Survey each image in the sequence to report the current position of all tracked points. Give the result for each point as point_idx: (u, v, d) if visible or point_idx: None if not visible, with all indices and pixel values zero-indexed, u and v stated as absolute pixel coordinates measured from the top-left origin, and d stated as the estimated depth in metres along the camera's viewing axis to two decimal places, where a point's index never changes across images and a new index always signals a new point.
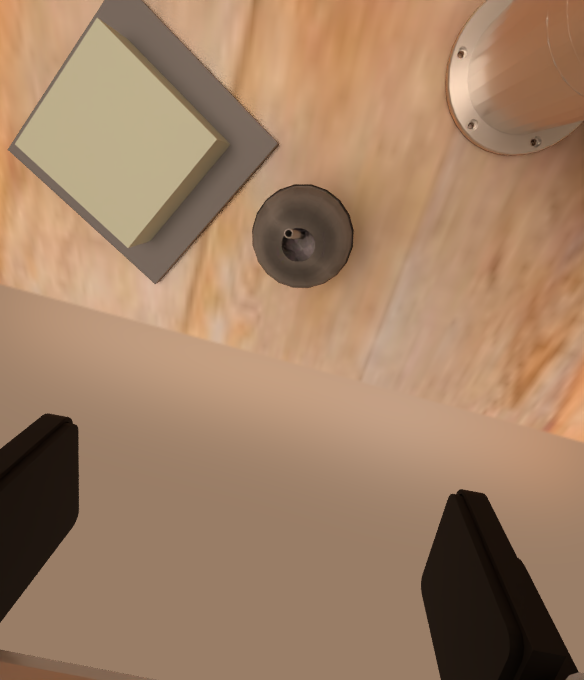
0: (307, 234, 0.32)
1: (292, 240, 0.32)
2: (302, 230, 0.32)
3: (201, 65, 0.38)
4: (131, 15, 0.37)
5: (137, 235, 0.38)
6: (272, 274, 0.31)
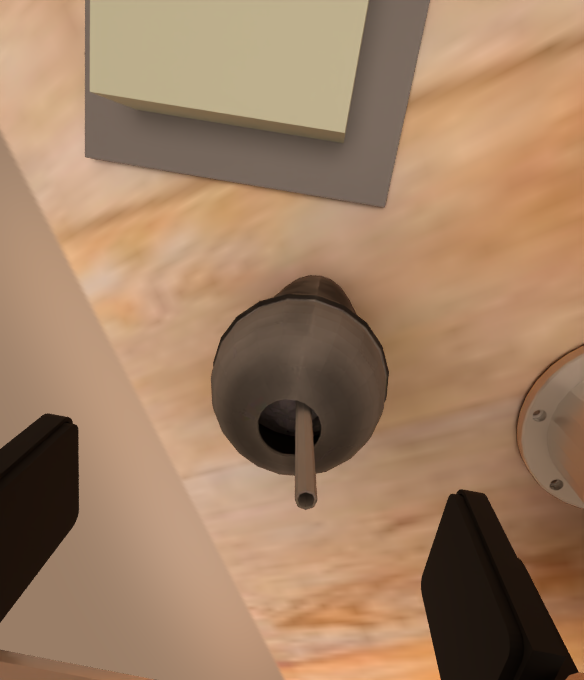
0: None
1: None
2: None
3: (421, 27, 0.23)
4: None
5: (120, 95, 0.21)
6: (215, 397, 0.16)
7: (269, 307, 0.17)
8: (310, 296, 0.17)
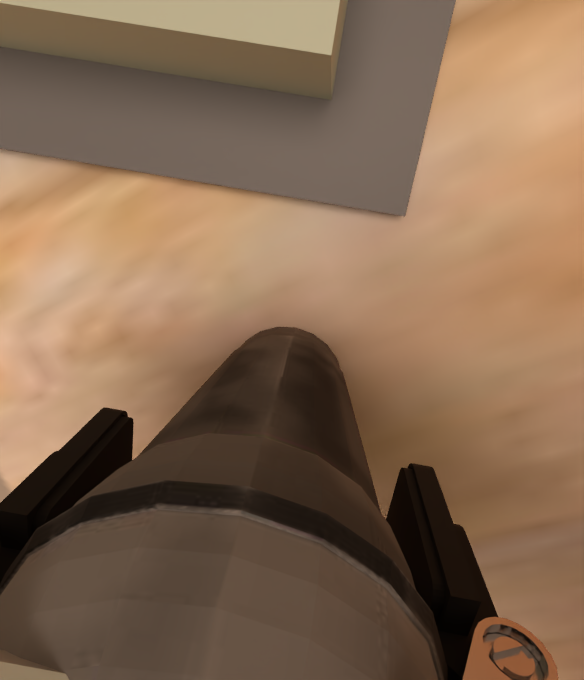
0: None
1: None
2: None
3: None
4: None
5: None
6: None
7: (99, 541, 0.06)
8: (229, 493, 0.06)
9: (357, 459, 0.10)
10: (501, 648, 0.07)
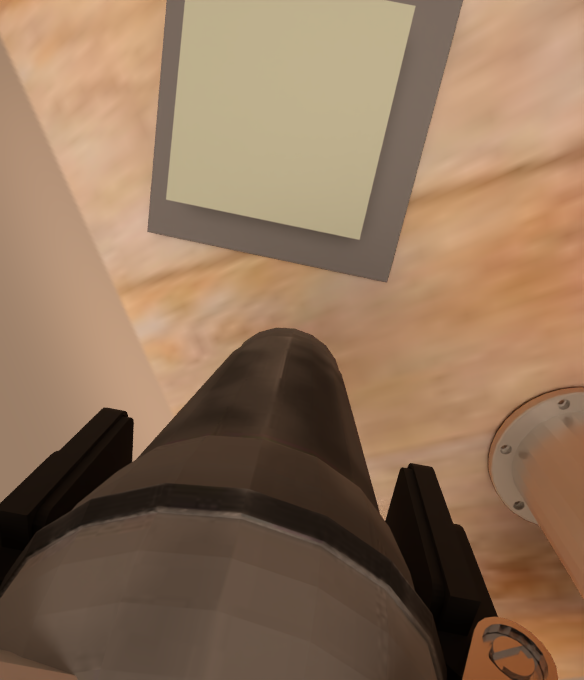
0: None
1: None
2: None
3: (420, 151, 0.30)
4: (431, 30, 0.27)
5: (189, 203, 0.27)
6: None
7: (99, 544, 0.06)
8: (229, 496, 0.06)
9: (356, 460, 0.10)
10: (501, 648, 0.07)
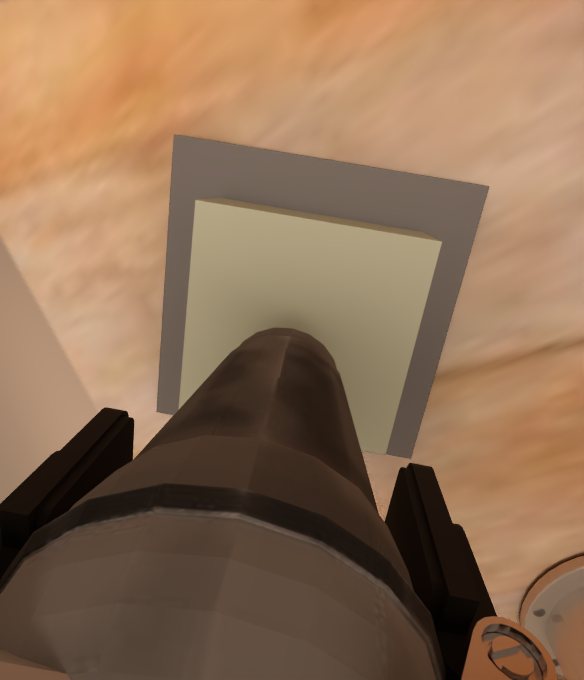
0: None
1: None
2: None
3: (443, 337, 0.28)
4: (453, 224, 0.26)
5: None
6: None
7: (96, 544, 0.06)
8: (226, 496, 0.06)
9: (354, 460, 0.10)
10: (500, 647, 0.07)
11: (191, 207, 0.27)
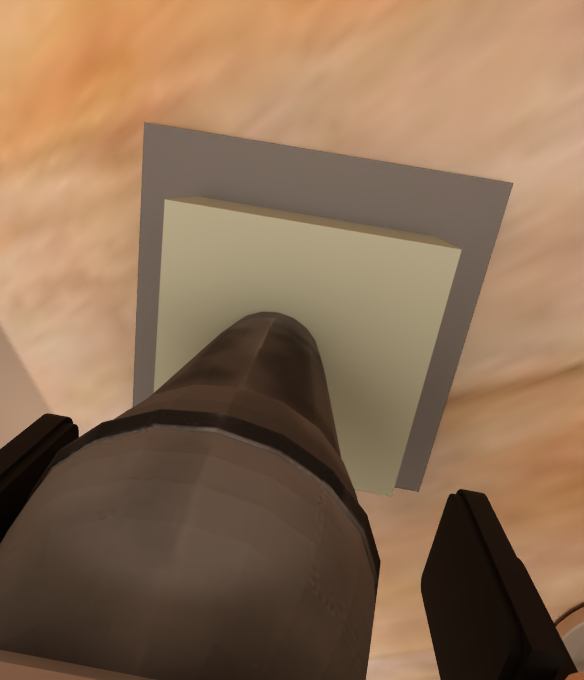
0: None
1: None
2: None
3: (457, 357, 0.24)
4: (470, 228, 0.22)
5: None
6: None
7: (110, 449, 0.07)
8: (208, 417, 0.08)
9: (321, 414, 0.12)
10: None
11: None
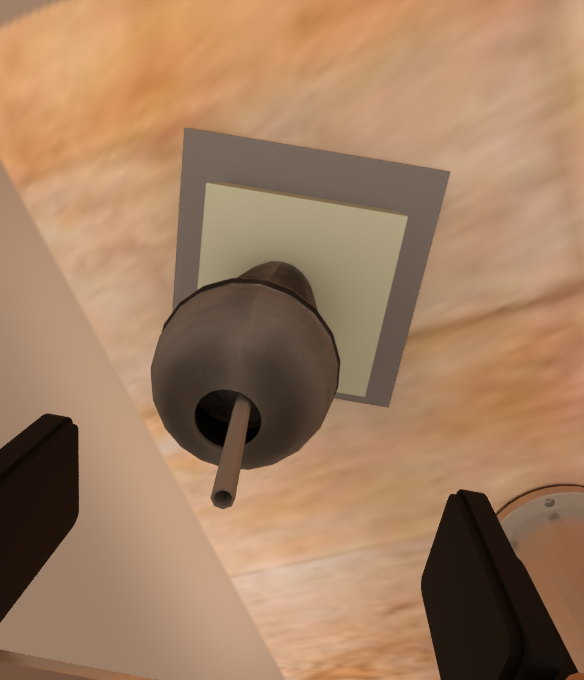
0: None
1: None
2: None
3: (414, 301, 0.33)
4: (420, 204, 0.31)
5: None
6: (153, 387, 0.15)
7: (211, 292, 0.16)
8: (256, 280, 0.16)
9: (311, 304, 0.20)
10: None
11: (199, 190, 0.31)
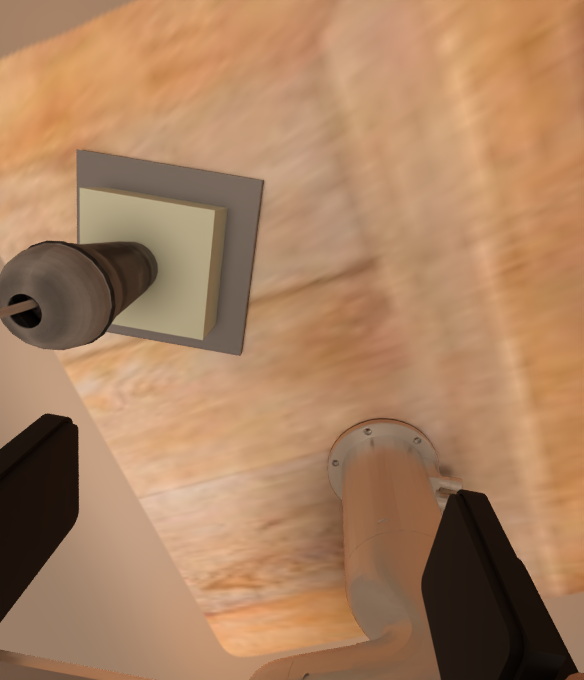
0: None
1: None
2: None
3: (249, 274, 0.45)
4: (244, 203, 0.43)
5: None
6: None
7: (31, 247, 0.28)
8: (59, 242, 0.29)
9: (118, 262, 0.33)
10: None
11: None
